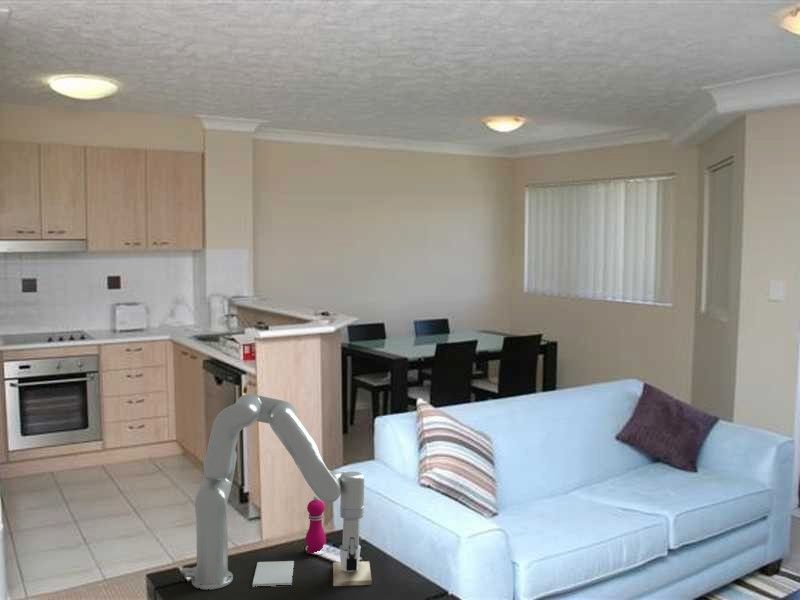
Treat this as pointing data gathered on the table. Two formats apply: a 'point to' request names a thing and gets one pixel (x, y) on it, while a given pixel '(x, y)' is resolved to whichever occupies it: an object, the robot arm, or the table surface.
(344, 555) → the shot glass
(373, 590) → the table surface
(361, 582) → the birch board
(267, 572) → the grey tile
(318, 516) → the pepper mill
